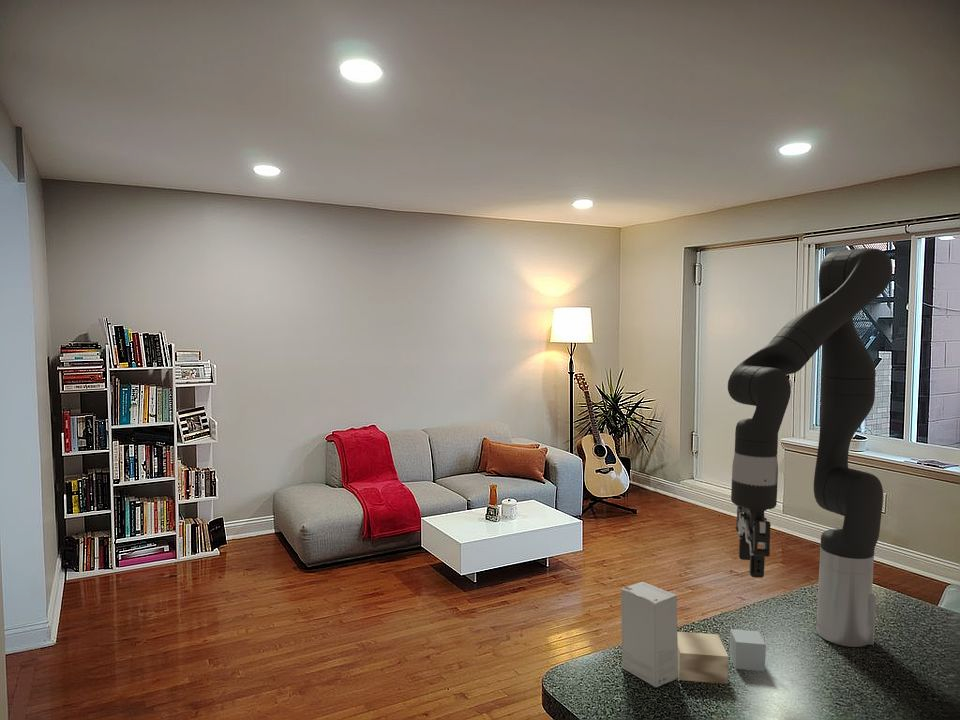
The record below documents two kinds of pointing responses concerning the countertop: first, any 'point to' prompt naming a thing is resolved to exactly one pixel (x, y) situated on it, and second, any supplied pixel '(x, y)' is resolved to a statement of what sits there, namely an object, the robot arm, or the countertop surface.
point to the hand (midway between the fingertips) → (750, 567)
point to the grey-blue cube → (747, 650)
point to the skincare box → (649, 633)
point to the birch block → (702, 658)
